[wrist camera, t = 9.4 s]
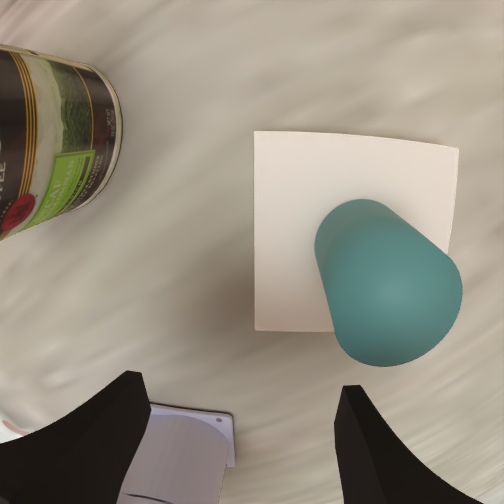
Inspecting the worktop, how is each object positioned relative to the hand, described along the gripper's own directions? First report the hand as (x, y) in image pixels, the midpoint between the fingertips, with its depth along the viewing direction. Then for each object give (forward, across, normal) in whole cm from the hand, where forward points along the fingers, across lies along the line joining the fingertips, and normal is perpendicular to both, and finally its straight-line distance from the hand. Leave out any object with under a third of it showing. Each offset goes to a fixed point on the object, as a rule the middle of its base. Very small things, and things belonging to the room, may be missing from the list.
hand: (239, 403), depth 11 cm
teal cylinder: (+6, -5, -4) cm, 9 cm away
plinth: (+9, -5, -4) cm, 11 cm away
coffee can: (+10, +13, -10) cm, 19 cm away
